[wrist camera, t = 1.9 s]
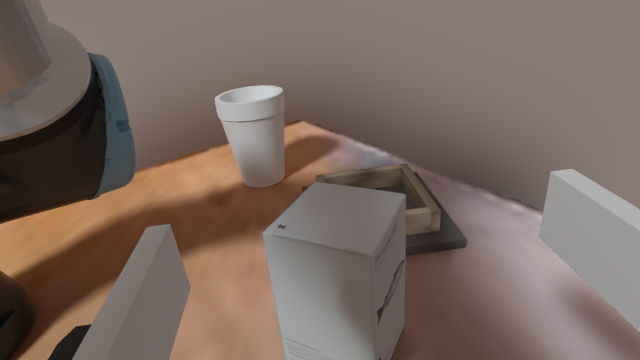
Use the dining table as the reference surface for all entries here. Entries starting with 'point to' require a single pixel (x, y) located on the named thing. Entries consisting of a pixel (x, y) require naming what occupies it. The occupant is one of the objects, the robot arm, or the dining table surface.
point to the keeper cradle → (407, 205)
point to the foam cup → (255, 132)
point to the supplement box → (339, 273)
